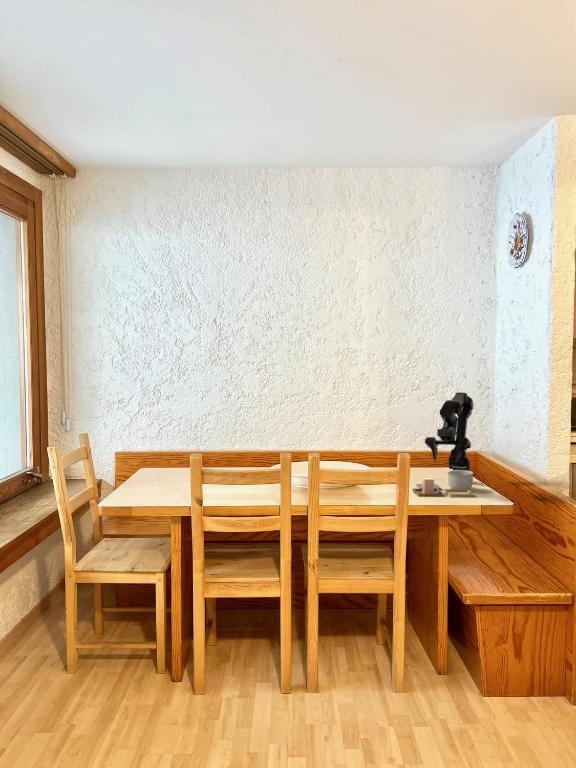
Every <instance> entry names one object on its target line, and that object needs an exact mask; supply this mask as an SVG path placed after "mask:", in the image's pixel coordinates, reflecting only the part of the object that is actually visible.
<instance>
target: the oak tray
mask: <svg viewBox="0 0 576 768" xmlns="http://www.w3.org/2000/svg"><path fill="white" fill-rule="evenodd" d="M442 493H444V495H447V497H449V498H477V494H475V493H474V492H473V491H471V490H470V489H452V488H450V489H447V488H445V489H442Z"/></svg>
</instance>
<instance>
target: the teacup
mask: <svg viewBox="0 0 576 768" xmlns="http://www.w3.org/2000/svg"><path fill="white" fill-rule="evenodd" d="M473 475H474V472H473V471H470V470H454V471H453V470H450V471H448V472H447V478H448V479H447V482H448V486H449V488H450V489H469V490H470V489H471V488H472V487H473V484H474V476H473Z"/></svg>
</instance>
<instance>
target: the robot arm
mask: <svg viewBox="0 0 576 768" xmlns="http://www.w3.org/2000/svg"><path fill="white" fill-rule="evenodd" d="M473 410H474V401H473V398H471V397H470V396H469V395H468V393H467V392H461V391H460V392H457V391H456V392H455V395H454V396H453V398H451V399H446V400H445V401H444V403H443V404H442V405H441V408H440V409H439V416H440V417H441V419H442V421H443V425H442V427H441V428H437V430H436V431H437V432H436V433H437V434H436V437H439V439H437V438H436V437H435V436H427V437H425V439H424V444H425V445H426V446H427V447H428V448H430V450H431V453H432V458H433V461H434V462H437V458H438V457H437V456H438V451H439V448H438V446H439V445H440V446H441V445H443V446H447V445H448V446H452V445H453V446H454V447H453V448H452V449H451V450H450V454H449V456H448V469H449V470H452V471H454V470H466V471H470V469H471V464H470V459H469V457H468V453H467V452H466V451H467V450H468V449H471V448H472V443H471V441H470V440H469V438H468V437H467V426H468V419H469V417H471V416H472V412H473Z"/></svg>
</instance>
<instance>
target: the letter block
mask: <svg viewBox="0 0 576 768" xmlns="http://www.w3.org/2000/svg"><path fill="white" fill-rule="evenodd" d="M421 484H422V493H423V494H434V484H435V480H434V479H433V478H432V477H422V483H421Z"/></svg>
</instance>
